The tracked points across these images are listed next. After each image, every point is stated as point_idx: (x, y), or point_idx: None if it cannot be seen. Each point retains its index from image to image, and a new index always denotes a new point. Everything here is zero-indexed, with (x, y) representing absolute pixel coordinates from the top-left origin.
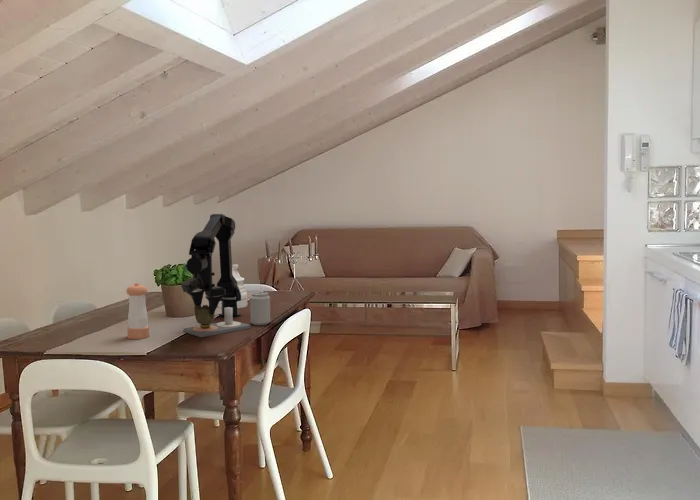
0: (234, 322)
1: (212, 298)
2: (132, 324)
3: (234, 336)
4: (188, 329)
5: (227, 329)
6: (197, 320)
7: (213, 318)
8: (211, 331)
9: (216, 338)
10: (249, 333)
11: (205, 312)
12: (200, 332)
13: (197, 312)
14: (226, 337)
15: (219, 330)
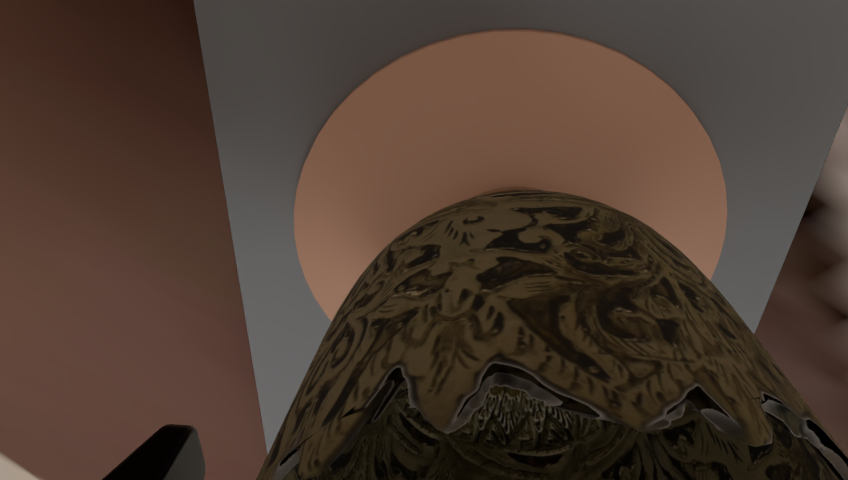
0: None
1: None
2: None
3: (18, 304)
4: (725, 9)
5: (259, 394)
6: (544, 194)
7: (382, 440)
8: (261, 196)
9: (7, 86)
10: (87, 460)
11: (287, 419)
12: (314, 24)
13: (505, 306)
14: (7, 215)
15: (251, 302)
